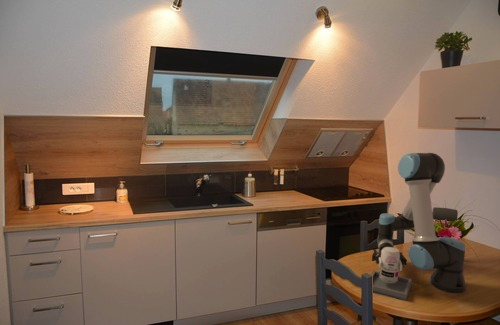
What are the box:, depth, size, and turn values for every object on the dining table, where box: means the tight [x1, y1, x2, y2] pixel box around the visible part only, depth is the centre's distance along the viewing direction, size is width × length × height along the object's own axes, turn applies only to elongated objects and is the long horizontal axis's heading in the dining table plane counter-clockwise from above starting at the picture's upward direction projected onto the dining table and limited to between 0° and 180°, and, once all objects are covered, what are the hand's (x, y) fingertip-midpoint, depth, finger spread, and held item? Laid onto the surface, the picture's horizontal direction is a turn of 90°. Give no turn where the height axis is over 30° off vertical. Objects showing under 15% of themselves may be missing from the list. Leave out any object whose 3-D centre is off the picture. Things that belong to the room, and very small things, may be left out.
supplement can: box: [379, 247, 400, 283], centre depth 174 cm, size 8×8×15 cm
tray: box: [370, 270, 413, 302], centre depth 175 cm, size 18×18×3 cm
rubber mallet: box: [432, 206, 459, 221], centre depth 209 cm, size 12×8×30 cm, turn 65°
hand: (390, 266), depth 169 cm, fingers closed on supplement can, 8 cm apart
